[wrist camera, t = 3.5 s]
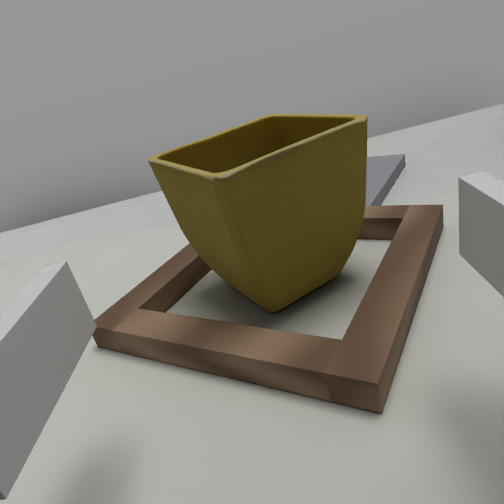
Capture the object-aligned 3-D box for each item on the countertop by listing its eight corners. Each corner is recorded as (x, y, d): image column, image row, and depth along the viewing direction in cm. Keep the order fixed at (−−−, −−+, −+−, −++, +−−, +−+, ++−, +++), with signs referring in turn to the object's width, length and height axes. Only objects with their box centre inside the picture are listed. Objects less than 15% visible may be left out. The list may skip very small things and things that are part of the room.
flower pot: (262, 351, 21) (214, 175, 17) (189, 290, 28) (144, 156, 24) (388, 274, 24) (372, 113, 20) (295, 237, 31) (270, 113, 27)
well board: (443, 225, 28) (442, 204, 27) (381, 413, 16) (377, 383, 15) (237, 224, 36) (233, 208, 35) (98, 346, 24) (87, 325, 24)
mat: (405, 164, 40) (404, 154, 40) (370, 219, 31) (369, 206, 31) (290, 171, 46) (288, 163, 46) (234, 219, 37) (231, 208, 37)
